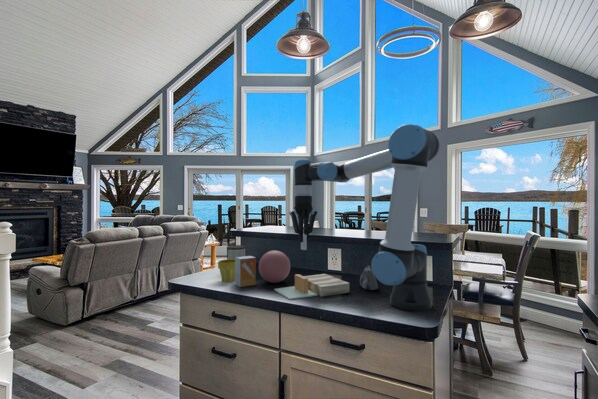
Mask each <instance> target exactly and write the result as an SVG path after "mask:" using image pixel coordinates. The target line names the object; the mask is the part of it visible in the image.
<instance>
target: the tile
mask: <svg viewBox="0 0 598 399" xmlns="http://www.w3.org/2000/svg"><path fill="white" fill-rule="evenodd" d="M304 276H305V275H304ZM304 276H303V275H302V274H300V273H299V274H296V273H295V274H294V286H295V289H297V290H299V291H301V292H302V293H308V278H306V277H304Z"/></svg>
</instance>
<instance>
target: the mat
mask: <svg viewBox="0 0 598 399" xmlns="http://www.w3.org/2000/svg"><path fill="white" fill-rule="evenodd" d="M273 289H274V290H273V291H274V292H277V293H278V294H279V295H281V296H282V297H283V298H284V297H285V299H287V300H288V301H293V300H297V299H304V298H312V297H318V296H319V295H318V294H317V293H315V292H313V291H311V290H309V289H308V293H302V292H301V291H299V290H297V289H295V285H292V286H287V287H286V286H284V287H279V288H273Z"/></svg>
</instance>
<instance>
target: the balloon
mask: <svg viewBox="0 0 598 399" xmlns="http://www.w3.org/2000/svg"><path fill="white" fill-rule="evenodd" d="M290 270H291V262H290V257H288V256H287V255H286V254H285V253H284V252H282V251H279V250H275V249H274V250H269V251H267V252H265V253H264V254H263V255H262V256H261V258H260V259H259V262H258V271H259V274H260V276H261V277H262V278H263V280H265V281H266V282H268V283H274V284H276V283H281V282H282V281H284V280H285V279H286V278H287V277H288V276H289V273H290V272H291V271H290Z"/></svg>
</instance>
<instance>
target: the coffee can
mask: <svg viewBox="0 0 598 399" xmlns="http://www.w3.org/2000/svg"><path fill="white" fill-rule="evenodd" d="M243 256H246V245H242V244H235V245H228V246H226V259H235V257H243Z"/></svg>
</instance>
